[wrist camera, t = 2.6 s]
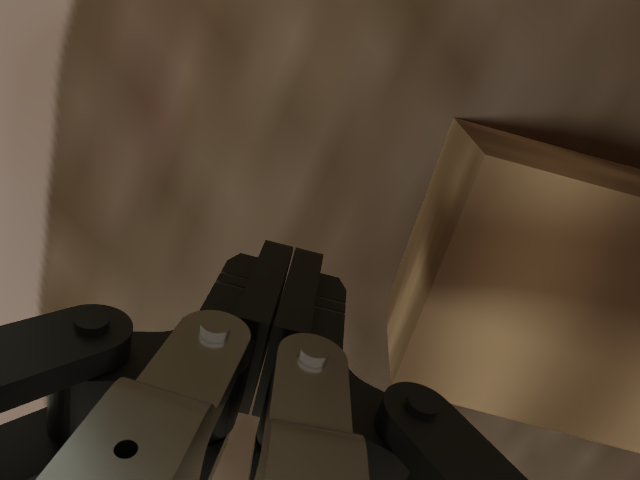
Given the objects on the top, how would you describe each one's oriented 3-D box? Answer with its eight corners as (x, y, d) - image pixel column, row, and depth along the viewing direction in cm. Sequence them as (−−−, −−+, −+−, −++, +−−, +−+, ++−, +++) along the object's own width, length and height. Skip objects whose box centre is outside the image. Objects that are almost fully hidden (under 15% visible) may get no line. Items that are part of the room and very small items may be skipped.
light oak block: (768, 203, 18) (919, 274, 13) (653, 372, 22) (740, 479, 17) (452, 116, 18) (485, 154, 13) (385, 300, 21) (390, 387, 16)
